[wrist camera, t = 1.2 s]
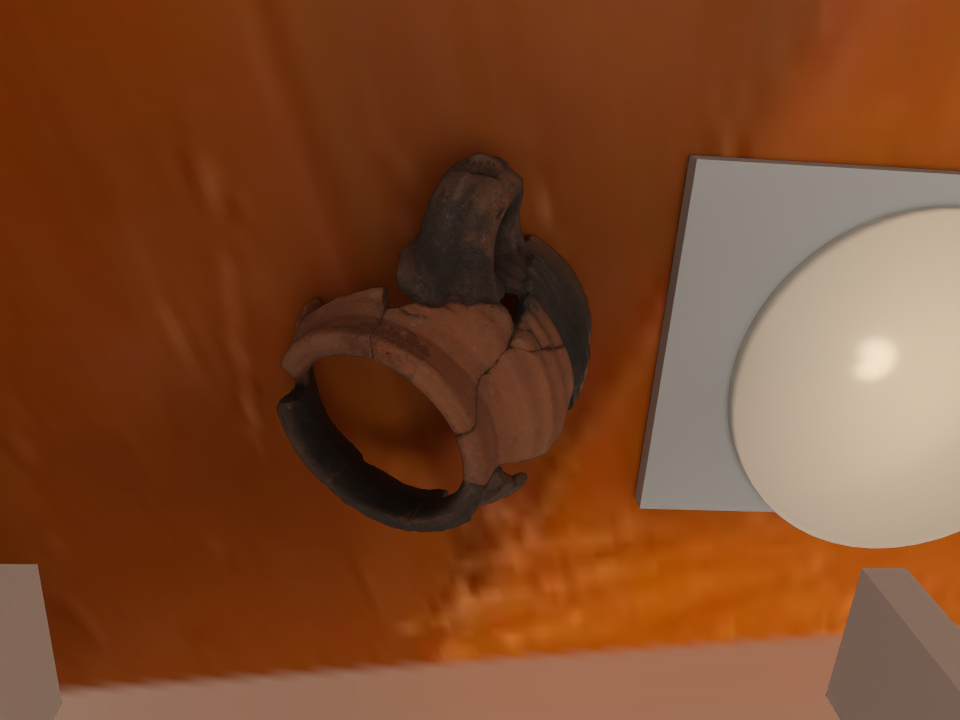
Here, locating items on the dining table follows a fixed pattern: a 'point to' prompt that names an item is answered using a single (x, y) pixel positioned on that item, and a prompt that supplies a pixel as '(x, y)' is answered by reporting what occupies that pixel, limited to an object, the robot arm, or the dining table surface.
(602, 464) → the dining table surface
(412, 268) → the broken terracotta ring
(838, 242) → the cream round plate
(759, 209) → the felt placemat
